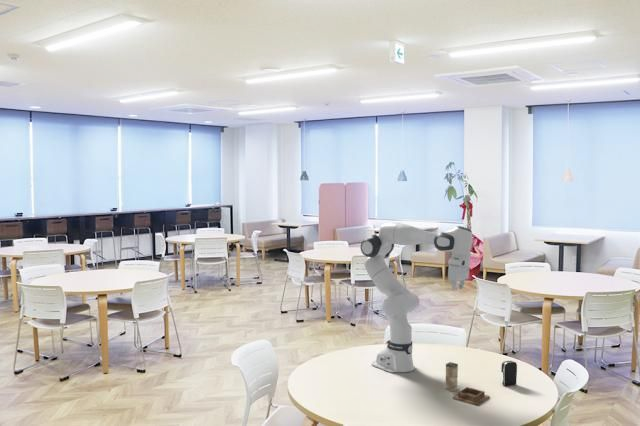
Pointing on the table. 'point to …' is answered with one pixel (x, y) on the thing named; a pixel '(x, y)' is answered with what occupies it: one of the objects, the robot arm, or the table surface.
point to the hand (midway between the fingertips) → (457, 289)
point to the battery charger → (509, 373)
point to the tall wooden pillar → (451, 376)
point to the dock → (471, 396)
